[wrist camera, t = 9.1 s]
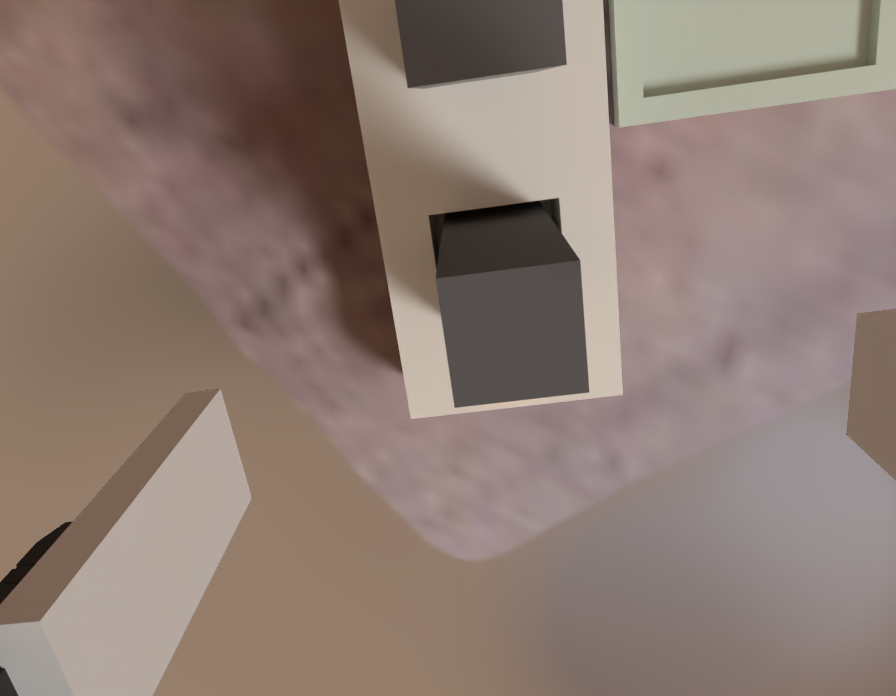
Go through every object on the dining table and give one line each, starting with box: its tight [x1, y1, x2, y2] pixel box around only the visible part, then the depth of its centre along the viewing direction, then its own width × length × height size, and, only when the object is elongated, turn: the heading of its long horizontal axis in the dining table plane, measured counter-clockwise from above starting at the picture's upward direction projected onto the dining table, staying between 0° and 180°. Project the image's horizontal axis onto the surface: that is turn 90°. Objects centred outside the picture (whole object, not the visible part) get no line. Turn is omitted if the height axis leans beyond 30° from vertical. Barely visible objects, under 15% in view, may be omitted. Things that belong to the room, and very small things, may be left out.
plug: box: [436, 201, 589, 408], centre depth 25 cm, size 4×4×11 cm
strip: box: [339, 0, 623, 419], centre depth 24 cm, size 20×9×12 cm, turn 8°
